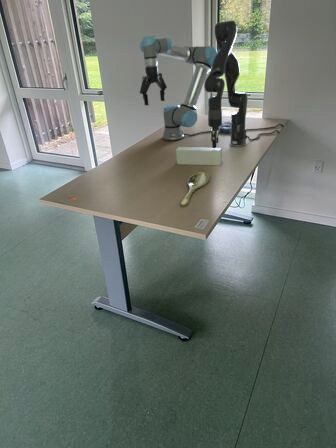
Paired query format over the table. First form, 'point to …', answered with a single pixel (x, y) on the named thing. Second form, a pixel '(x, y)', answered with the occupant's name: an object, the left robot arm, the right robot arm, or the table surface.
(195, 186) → the spoon
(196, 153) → the bar
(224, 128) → the spray gun
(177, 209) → the table surface
